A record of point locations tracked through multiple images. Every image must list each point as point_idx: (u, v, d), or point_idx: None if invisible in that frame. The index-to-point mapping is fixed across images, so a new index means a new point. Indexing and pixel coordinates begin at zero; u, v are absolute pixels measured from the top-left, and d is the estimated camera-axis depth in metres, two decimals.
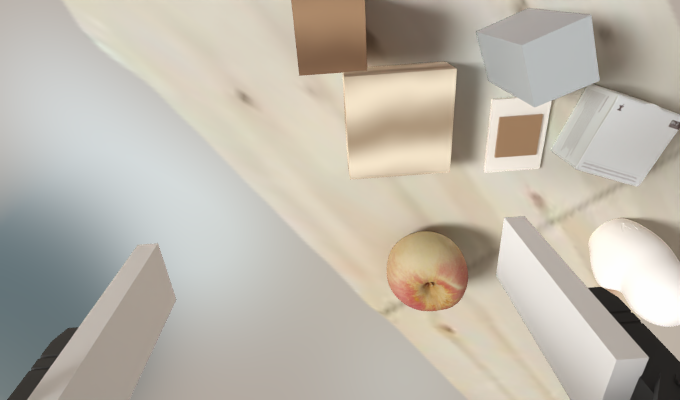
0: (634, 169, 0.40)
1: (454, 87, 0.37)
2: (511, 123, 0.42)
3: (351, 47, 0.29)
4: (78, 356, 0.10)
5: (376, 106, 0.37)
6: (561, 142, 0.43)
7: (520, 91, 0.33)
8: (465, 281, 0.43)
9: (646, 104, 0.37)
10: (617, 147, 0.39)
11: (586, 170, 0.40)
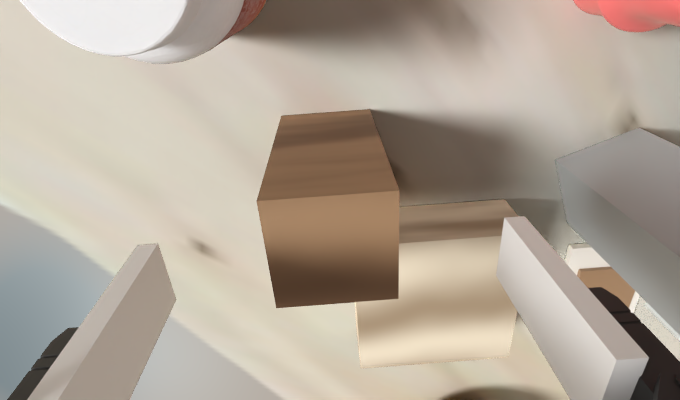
0: None
1: None
2: (596, 278, 0.29)
3: (371, 268, 0.16)
4: (78, 356, 0.10)
5: (402, 282, 0.24)
6: None
7: (648, 293, 0.20)
8: None
9: None
10: None
11: None
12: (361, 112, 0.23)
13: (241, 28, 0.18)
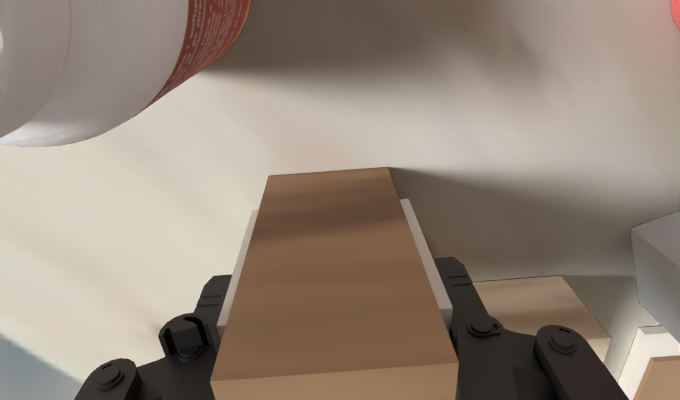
0: None
1: None
2: (673, 369, 0.22)
3: None
4: None
5: None
6: None
7: None
8: None
9: None
10: None
11: None
12: (377, 172, 0.17)
13: (203, 67, 0.12)
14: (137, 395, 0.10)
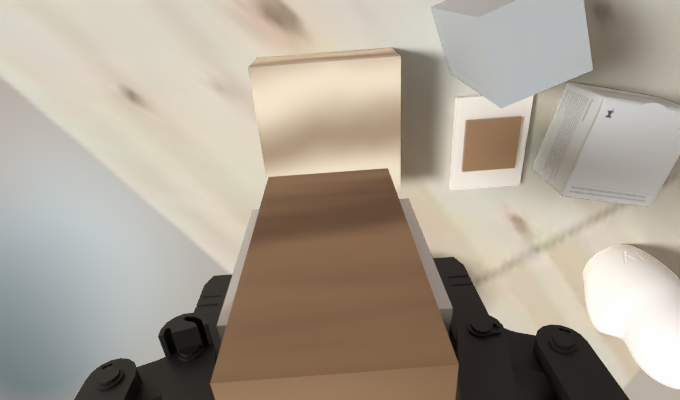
0: (640, 186, 0.31)
1: (399, 81, 0.27)
2: (481, 128, 0.32)
3: None
4: None
5: (295, 107, 0.28)
6: (542, 159, 0.34)
7: (483, 86, 0.24)
8: None
9: (645, 104, 0.28)
10: (613, 162, 0.30)
11: (576, 195, 0.31)
12: (377, 173, 0.17)
13: None
14: (137, 395, 0.10)
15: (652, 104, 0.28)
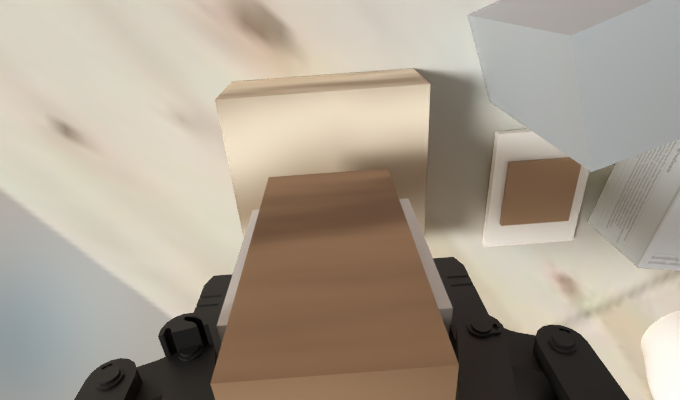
0: None
1: (426, 118, 0.20)
2: (528, 172, 0.25)
3: None
4: None
5: (282, 152, 0.20)
6: (604, 214, 0.26)
7: (556, 133, 0.16)
8: None
9: None
10: None
11: (657, 267, 0.23)
12: (377, 173, 0.17)
13: None
14: (137, 395, 0.10)
15: None
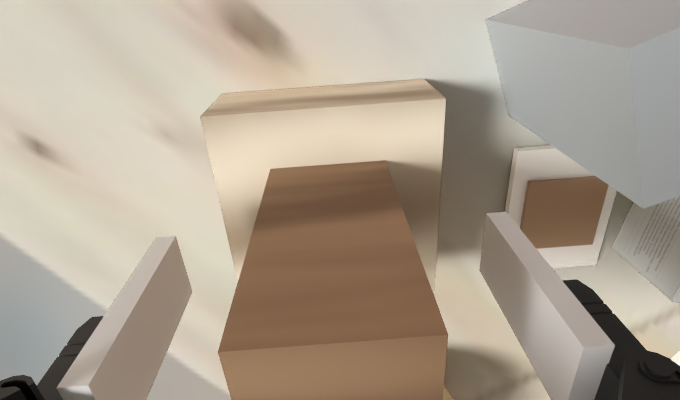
0: None
1: (441, 137, 0.17)
2: (550, 193, 0.22)
3: None
4: (106, 342, 0.11)
5: None
6: (631, 239, 0.24)
7: (596, 158, 0.14)
8: None
9: None
10: None
11: None
12: (375, 165, 0.17)
13: None
14: None
15: None
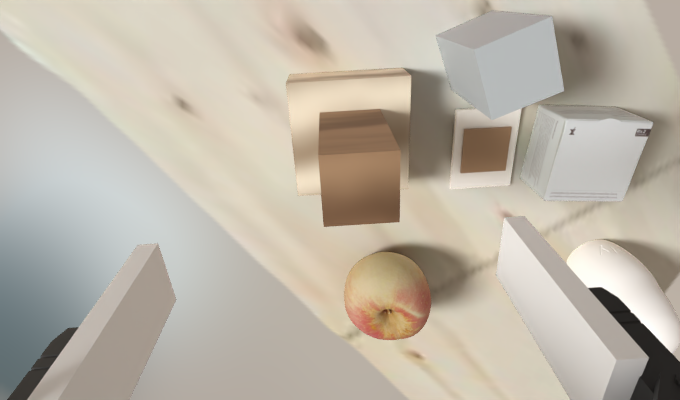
0: (610, 185, 0.37)
1: (409, 96, 0.33)
2: (477, 136, 0.38)
3: (383, 200, 0.26)
4: (78, 356, 0.10)
5: None
6: (527, 170, 0.40)
7: (478, 101, 0.30)
8: (427, 308, 0.40)
9: (601, 121, 0.34)
10: (583, 169, 0.36)
11: (556, 199, 0.37)
12: (374, 110, 0.33)
13: None
14: None
15: (607, 120, 0.34)
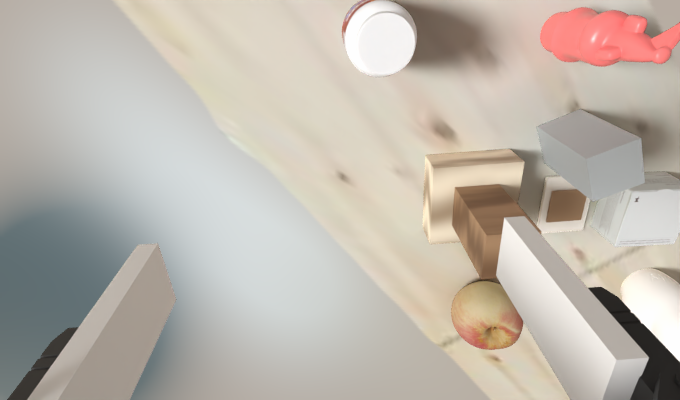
0: (665, 234, 0.49)
1: (521, 175, 0.45)
2: (561, 196, 0.50)
3: None
4: (78, 356, 0.10)
5: None
6: (597, 221, 0.52)
7: (579, 185, 0.42)
8: (521, 326, 0.52)
9: (658, 191, 0.46)
10: (644, 224, 0.48)
11: (624, 245, 0.49)
12: (496, 186, 0.45)
13: None
14: None
15: (663, 190, 0.46)
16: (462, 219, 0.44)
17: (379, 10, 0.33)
